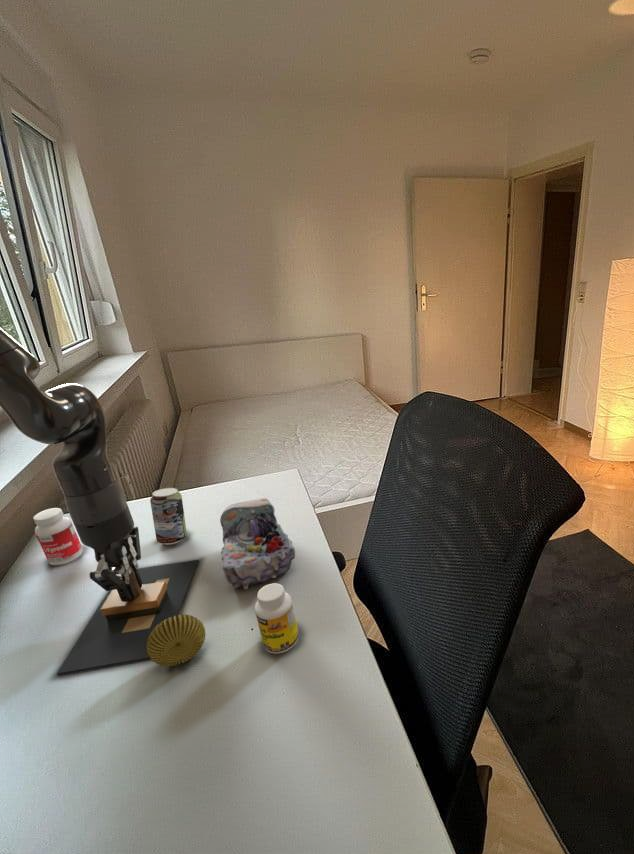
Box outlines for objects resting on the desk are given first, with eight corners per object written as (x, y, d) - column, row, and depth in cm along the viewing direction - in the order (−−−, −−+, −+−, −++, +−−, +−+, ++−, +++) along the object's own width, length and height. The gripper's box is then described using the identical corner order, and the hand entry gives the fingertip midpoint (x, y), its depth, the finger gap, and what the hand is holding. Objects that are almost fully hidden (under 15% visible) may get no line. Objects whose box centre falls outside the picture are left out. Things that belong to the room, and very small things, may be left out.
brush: (105, 622, 76) (89, 586, 73) (117, 602, 81) (103, 566, 77) (161, 613, 77) (147, 577, 74) (169, 593, 82) (157, 558, 79)
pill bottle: (46, 570, 91) (24, 525, 87) (52, 554, 96) (32, 510, 92) (81, 560, 94) (62, 516, 89) (86, 545, 99) (67, 502, 94)
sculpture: (208, 638, 72) (196, 601, 69) (212, 655, 69) (200, 617, 66) (154, 662, 69) (138, 623, 65) (156, 681, 65) (140, 641, 62)
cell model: (268, 486, 96) (295, 532, 80) (276, 527, 101) (303, 578, 85) (204, 504, 91) (220, 557, 75) (215, 546, 95) (233, 606, 79)
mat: (57, 676, 67) (56, 673, 67) (121, 573, 89) (121, 571, 89) (162, 657, 69) (160, 655, 69) (199, 561, 91) (199, 559, 91)
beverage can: (152, 547, 96) (135, 500, 92) (175, 528, 103) (161, 483, 98) (176, 550, 95) (160, 502, 90) (198, 530, 101) (185, 485, 97)
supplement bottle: (257, 653, 69) (244, 603, 65) (273, 625, 74) (262, 577, 70) (290, 658, 68) (279, 607, 64) (305, 629, 73) (295, 580, 69)
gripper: (94, 492, 76) (126, 571, 83) (50, 538, 64) (91, 628, 71) (140, 486, 77) (167, 565, 84) (105, 530, 65) (141, 619, 72)
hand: (132, 593), depth 77 cm, fingers closed on brush, 2 cm apart
